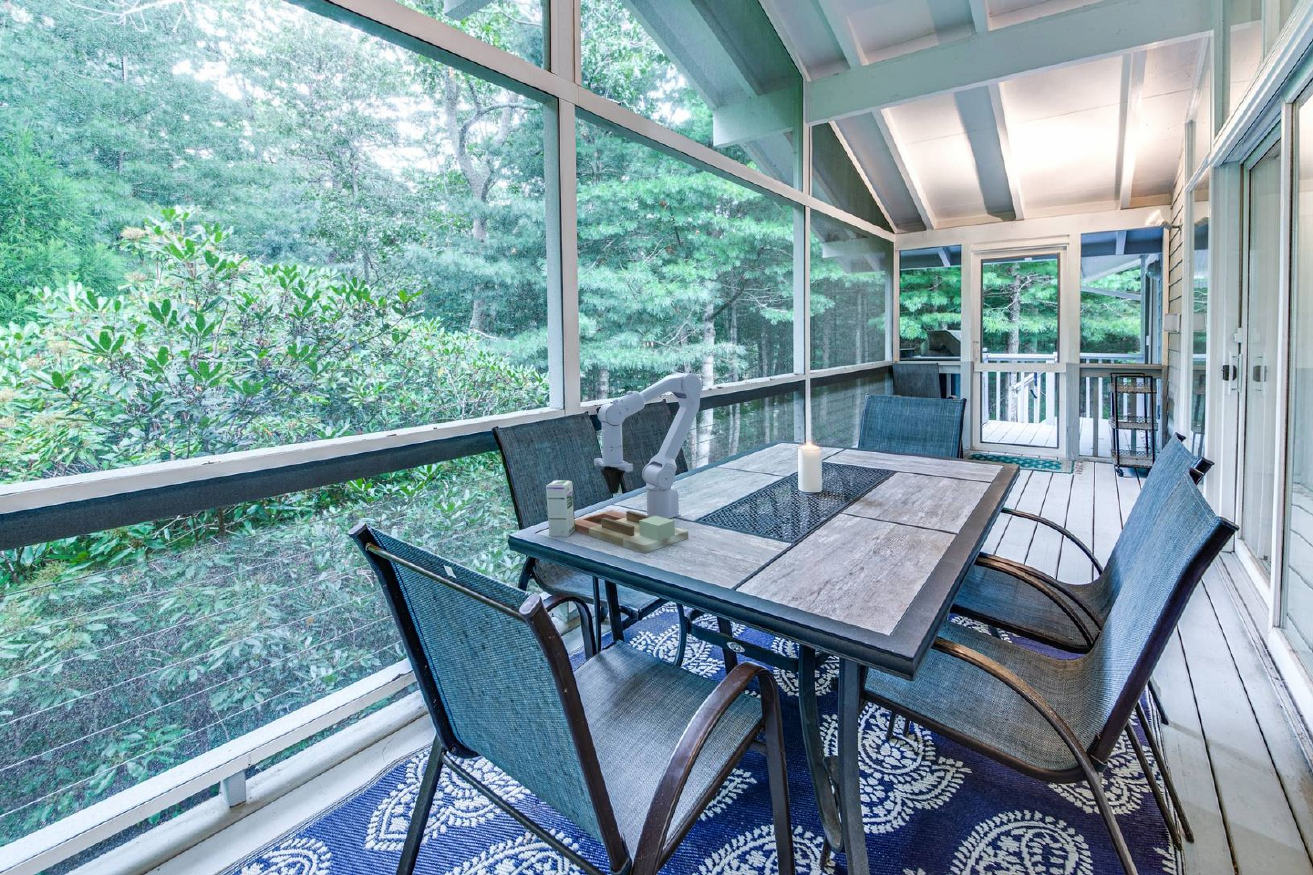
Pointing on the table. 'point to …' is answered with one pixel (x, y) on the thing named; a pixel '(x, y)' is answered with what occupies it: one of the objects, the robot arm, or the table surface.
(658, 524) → the sage block
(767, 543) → the table surface
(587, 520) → the trap track
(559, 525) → the syrup box
